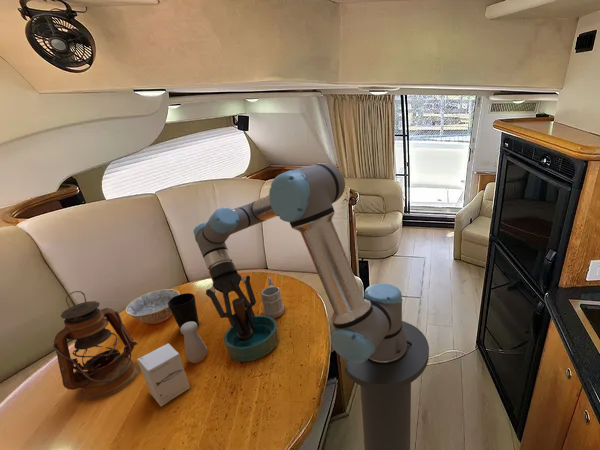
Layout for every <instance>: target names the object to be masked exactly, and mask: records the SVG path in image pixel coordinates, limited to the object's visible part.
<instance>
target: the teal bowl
mask: <svg viewBox="0 0 600 450" xmlns="http://www.w3.org/2000/svg"><path fill="white" fill-rule="evenodd" d="M252 319H253V321H254V323H255V326H256V328H255V329H254V330H253V337H252V338H251V339H250V340H248V341H240V340H239V338H238V331H237V328H236V326H233V327H232V326H231V325H230V327H229V328H228V329H227V330H226V331H225V333H224V335H223V343H224V346H225V350H226V355H227V357H228V358H230V360H232V361H234V362H238V363H240V362H242V363H247V362H251V361H256V360H258V359H260V358H263V357H265V356H266V355H268V354H269V353H271V352H272V351H273V350H274V349H275V348H276V346H277V345H278V344H279V340H280V333H279V328H278V323H277V321H276V319H275V318H271V317H268V316H265V315H255V317H254V318H252ZM248 322H249V321H248ZM249 326H250V329H252V328H251V325H250V323H249Z"/></svg>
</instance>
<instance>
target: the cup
mask: <svg viewBox="0 0 600 450" xmlns="http://www.w3.org/2000/svg"><path fill="white" fill-rule="evenodd" d="M168 305H169V308H170V310H171V312H172V314H171V315H172V316H173V318H174V320H175V322H176V324H177V326H178V329H180V328H181V326H182V325H183V324H185V323H187V322H190V321H192V322H196V323H197V326H198V328H199V327H200V321H199V316H198V309H197V308H198V307H197V304H196V297H195V294H193V293H190V292H187V293H186V292H185V293H180V295H178V296H175V297H173V298H172V299H170V300H169V302H168Z"/></svg>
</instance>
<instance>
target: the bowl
mask: <svg viewBox="0 0 600 450" xmlns="http://www.w3.org/2000/svg"><path fill="white" fill-rule="evenodd" d="M180 294H181V292H180V291H179V290H177V289H173V288H171V289H170V288H164V289H158V290H154V291H151V292H148V293H145V294H142V295H140V296H139V297H137V298H134V299H133V300H132V301H130V303H129V304H128V305H127V306H126V308H125V313H126V314H127V315H129V316H130V317H132V318H133V319H134V320H136V321H138V322H140V323H144V324H151V325H155V324H160V323H163V322H164V321H167V320H168V319H169V318H170V317H171V316H172V315H173V314H172V312H171V310H170V308H169V305H168V302H169V300H170V299H172V298H173V297H175V296H178V295H180Z"/></svg>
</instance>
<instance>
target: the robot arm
mask: <svg viewBox="0 0 600 450" xmlns="http://www.w3.org/2000/svg"><path fill="white" fill-rule="evenodd" d="M345 189H346V180H345V177H344V174H343V173H342V172H341V170H340V169H339V168H338V167H336V166H335V165H333V164H330V163H326V162H323V163H322V162H320V163H315V164H311V165H307V166H303V167H299V168H294V169H289V170H287V171H285V172H282V173H280V174H278V175H277V176H275V178H274V179H272V181H271V184H270V188H269V191H268V195H266V196H263V197H261V198H259V199H256V200H254V201H252V202H250V203H247V204H243V205H241V206H238V207H235V208H230V207H220V208H217V209H215V210H214V212H213V213H212V214H211V215H210V217H209V218H208V220H207V221H205V222H202V223H199V224H198V225H196V226H194V228H193V235H194V240H195V242H196V244H197V246H198V249H199V251H200V254H201V255H202V258H203V261H204V263H205V266H206V269H207V270H208V274H209V276H210V278H211V281H212V286H211V287H210V288H208V289H206V290H205V295H206V296H207V297H208V298H209V299H210V300H211V302H212V304H213V306H214V308H215V310H216V312H217V313H218V315H219V317H220V319H225V318H227V319H228V321H229V324H230V327H231V326H232V327H233V326H236V328H237V331H238V333H239V336H240V335H242V334H243V332H242V329H241V327H240V324H239V322H238V319H237V317H236V315H235V313H233V311H232V306H231V301H230V296H229V295H230V293H232V292H234V293H235V294H236V295H237V298H243V299H244V304H245V308H246V313H247V317H248V321H249V323H250V325H251V328H252V330H254V329H255V328H256V326H255V323H254V321H253V319H252V318H254V317H255V316H256V314H255V312H254V310H253V307H254V306H255V305H256V304H257V300H256V297H255V294H254V291H253V288H252V285H251V276H250V275H246V276H242V275H241V274H239V272H238V270H237V268H236V265H235V263H234V262H233V257H232V256H231V253H230V251H229V249H228V247H227V244H226V241H227V240H228V239H229V238H230V236H231V235H233V234H236V233H238V232H241V231H243V230H245V229H248V228H250V227H253V226H255V225H258V224H261V223H264V222H267V221H268V220H271V219H274V218H276V217H279V219H280V220H281V221H283V222H286V223H289V225H290V228H291V229H292V230H295V231H298V232H299V233H300V235H301V238H302V239H303V242H304V244H305V246H306V249H307V251H308V253H309V256H310V259H311V260H312V263H313V265H314V268H315V270H316V273H317V275H318V277H319V279H320V282H321V285H322V286H323V289H324V291H325V294H326V296H327V298H328V301H329V303H330V306H331V308H332V310H333V313H332V315H331V318H330V320H331V323H332V325H333V327H334V331H333V332H332V333H331V336H330V344H331V346H332V348H333V350H334V351H335V353H336V354H338V356H340V357H341V358H343V359H344V360H346V361H347V360H348V361H350V362H354V363H362V362H364V361H366V360H367V359H368V360H369V361H371V362H373V363H376V364H381V365H386V364H392V363H395V362H397V361H399V360H400V359H401V358H403V357H404V355H405V354H406V351H407V344H409V345H412V343H411V342H409V341H407V339H406V337H405V334H404V332H403V329H402V321H403V297H402V291H401V290H400V289H399V288H398V287H397V286H395V285H393V284H389V283H375V284H371V285H369V286H368V287H366V289H365V290H364V294H363V295H364V296H363V295H362V292H361V289H360V287H359V284H358V282H357V280H356V277H355V275H354V272H353V269H352V267H351V264H350V262H349V260H348V257H347V254H346V252H345V249H344V247H343V245H342V242H341V239H340V237H339V234H338V232H337V229H336V226H335V224H334V222H333V218H334V215H335V213H336V211H335V209H334V205H333V204H334V203H336V202H337V201H338V200H339V199H341V198H342V196H343V195H344V192H345ZM241 282H242V284H244V288H245V289H246V293H247V296H246V295H245V294H244V292H243V291H242V289H241V287H240V285H241ZM215 290H216V291H217V292H220V294H222V297H223V301H224V308H225V311H224V308H223V307H222V304H221V303H220V301H219V299H218V297H217V295H216V291H215ZM247 297H248V298H247ZM248 299H249V300H248Z"/></svg>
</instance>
